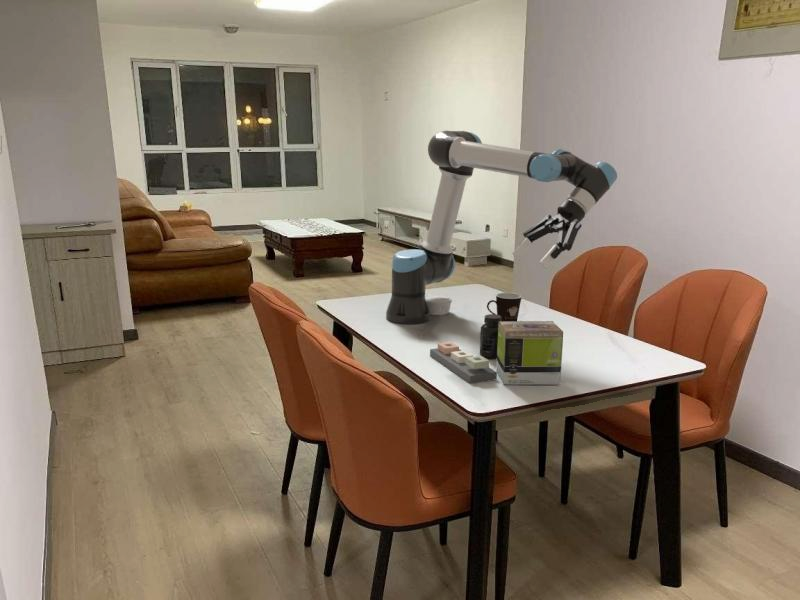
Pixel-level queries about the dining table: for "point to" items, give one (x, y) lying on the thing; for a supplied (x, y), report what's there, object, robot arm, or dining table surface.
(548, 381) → the tea box
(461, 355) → the key mid
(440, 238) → the robot arm
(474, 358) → the key
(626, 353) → the dining table surface
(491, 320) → the supplement bottle
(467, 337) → the dining table surface
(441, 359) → the board
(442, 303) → the ramekin
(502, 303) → the coffee mug
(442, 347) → the key
